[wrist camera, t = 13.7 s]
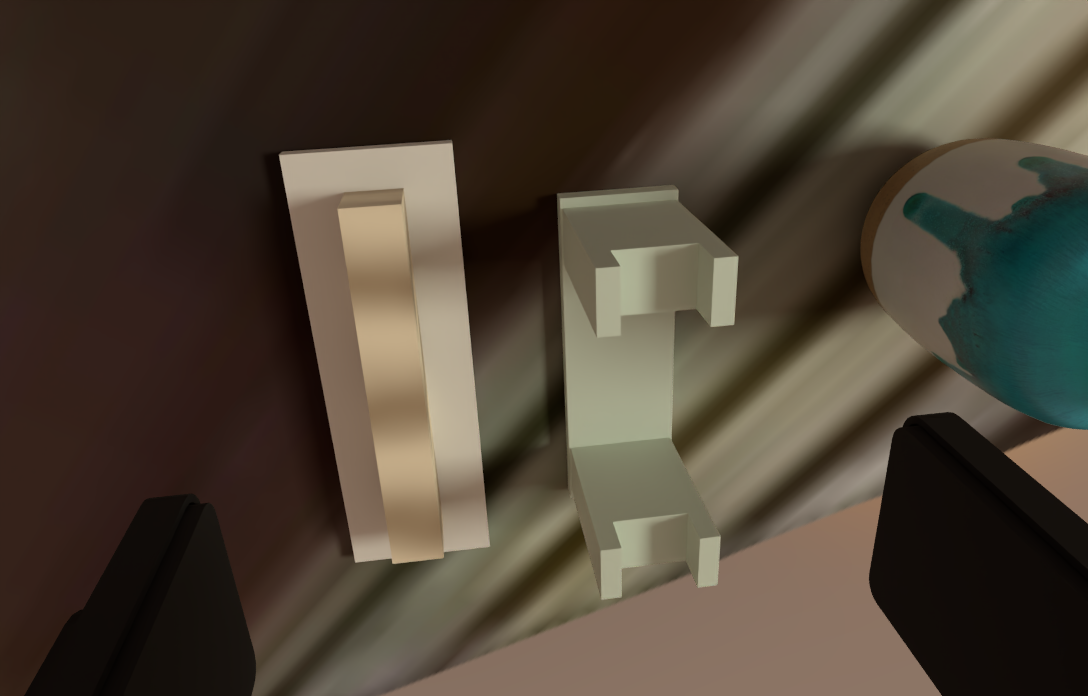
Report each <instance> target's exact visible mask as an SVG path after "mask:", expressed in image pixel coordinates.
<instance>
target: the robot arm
mask: <svg viewBox="0 0 1088 696" xmlns="http://www.w3.org/2000/svg"><path fill="white" fill-rule="evenodd" d="M869 583H870V588H871V592H872V595H873V597H874V599H875V601H876V603H877V604H878V606H879V607H880V609H881V610H882V611H883V613H884V614H885V616H886V617H887V618H888V620H889V621H890V623H891V624H892V626H893V627H894V628H895V630H896V631H897V633H898V634H899V635H900V637H901V638H902V639H903V641H904V642H905V643H906V645H907V647H908V648H909V649H910V651H911V652H912V654H913V655H914V657H915V658H916V659H917V661H918V662H919V664H920V665H921V666H922V668H923V669H924V671H925V672H926V674H927V675H928V676H929V678H930V679H931V680H932V682H933V683H934V685H935V686H936V688H937V689H938V690H939V692H940V693H941V695H942V696H1088V524H1087V523H1086V522H1085V521H1084V520H1083V519H1081V518H1080V517H1079V516H1078V515H1077V514H1075V513H1074V512H1073V511H1072V510H1071V509H1069V508H1068V507H1067V506H1066V505H1065V504H1063V503H1062V502H1061V501H1060V500H1059V499H1057V498H1056V497H1055V496H1054V495H1053V494H1052V493H1050V492H1049V491H1048V490H1047V489H1045V488H1044V487H1043V486H1042V485H1041V484H1039V483H1038V482H1037V481H1036V480H1035V479H1034V478H1032V477H1031V476H1030V475H1029V474H1028V473H1026V472H1025V471H1024V470H1023V469H1022V468H1020V467H1019V466H1018V465H1017V464H1016V463H1014V462H1013V461H1012V460H1011V459H1010V458H1008V457H1007V456H1006V455H1005V454H1004V453H1002V452H1001V451H1000V450H999V449H998V448H996V447H995V446H994V445H993V444H992V443H990V442H989V441H988V440H987V439H986V438H985V437H983V436H982V435H981V434H980V433H979V432H977V431H976V430H975V429H974V428H973V427H971V426H970V425H969V424H968V423H967V422H965V421H964V420H963V419H962V418H961V417H959V416H958V415H956V414H954V413H951V412H945V413H936V414H926V415H917V416H911V417H909V418H907V420H906V421H905V423H904V425H903V427H901V428H898V429H896V431H895V432H894V434H893V438H892V443H891V449H890V455H889V461H888V467H887V473H886V479H885V485H884V490H883V496H882V503H881V509H880V515H879V520H878V526H877V532H876V537H875V543H874V549H873V555H872V561H871V567H870V573H869ZM255 675H256V660H255V654H254V649H253V646H252V642H251V639H250V635H249V631H248V628H247V624H246V620H245V617H244V613H243V609H242V606H241V602H240V599H239V595H238V591H237V588H236V584H235V580H234V577H233V573H232V569H231V566H230V562H229V559H228V555H227V551H226V548H225V544H224V540H223V537H222V533H221V529H220V526H219V522H218V519H217V515H216V512H215V509H214V507H213V505H212V504H210V503H204V504H200V502H199V499H198V498H197V497H196V495H194V494H184V495H175V496H165V497H156V498H149V499H146V500H145V501H144V502H143V503H142V505H141V506H140V508H139V510H138V512H137V513H136V515H135V517H134V519H133V521H132V522H131V524H130V526H129V528H128V530H127V531H126V533H125V535H124V537H123V539H122V540H121V542H120V544H119V546H118V548H117V549H116V551H115V553H114V555H113V557H112V558H111V560H110V562H109V564H108V566H107V567H106V569H105V571H104V573H103V575H102V576H101V578H100V580H99V582H98V584H97V585H96V587H95V589H94V591H93V593H92V594H91V596H90V598H89V600H88V602H87V603H86V605H85V607H84V609H83V610H80V611H78V612H76V613H75V614H73V615H72V616H71V617H70V619H69V620H68V621H67V623H66V624H65V625H64V627H63V629H62V631H61V632H60V634H59V636H58V638H57V639H56V641H55V643H54V645H53V646H52V648H51V650H50V652H49V653H48V655H47V657H46V659H45V660H44V662H43V664H42V666H41V667H40V669H39V671H38V673H37V674H36V676H35V678H34V680H33V681H32V683H31V685H30V687H29V688H28V690H27V692H26V694H25V695H24V696H251V695H252V691H253V687H254V682H255Z"/></svg>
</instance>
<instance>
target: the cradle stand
mask: <svg viewBox="0 0 1088 696" xmlns="http://www.w3.org/2000/svg"><path fill="white" fill-rule="evenodd" d="M678 192H679V189H677V188H676V187H675V186H674V185H663V186H650V187H637V188H624V189H611V190H598V191H585V192H572V193H559V194H557V209H558V235H559V261H560V287H561V313H562V339H563V366H564V392H565V418H566V444H567V470H568V490H569V494H570V497H571V498H574V500H575V503H576V507H577V511H578V515H579V518H580V522H581V526H582V529H583V533H584V537H585V541H586V544H587V548H588V552H589V555H590V559H591V563H592V566H593V570H594V574H595V578H596V581H597V585H598V589H599V592H600V596H601V600H603V599H611V598H619V597H622V568H629V567H637V566H645V565H653V564H662V563H670V562H678V561H686V562H687V564H688V566H689V569H690V571H691V573H692V576H693V578H694V580H695V582H696V585H697V587H706V586H714V585H717V584H718V568H719V553H720V537H721V536H720V534H719V532H718V530H717V528H716V526H715V525H714V523H713V521H712V519H711V517H710V515H709V513H708V511H707V509H706V507H705V505H704V503H703V501H702V499H701V497H700V495H699V493H698V491H697V489H696V488H695V486H694V484H693V482H692V480H691V478H690V476H689V474H688V472H687V470H686V468H685V466H684V464H683V462H682V460H681V458H680V456H679V454H678V452H677V451H676V449H675V447H674V445H673V443H672V441H671V435H672V400H673V366H674V331H675V311H679V310H690V309H697V310H698V312H699V313H700V314H701V315H702V317H703V318H704V319H705V320H706V322H707V323H708V324H709V325H710V327H717V326H727V325H734V319H735V303H736V288H737V272H738V257H739V256H738V255H737V254H736V253H734V252H733V251H732V250H731V249H730V248H729V247H728V246H727V245H726V244H725V243H724V242H722V241H721V240H720V239H719V238H718V237H717V236H716V235H715V234H714V233H713V232H711V231H710V230H709V229H708V228H707V227H706V226H705V225H704V224H703V223H702V222H701V221H699V220H698V219H697V218H696V217H695V216H694V215H693V214H692V213H691V212H690V211H688V210H687V209H686V208H685V207H684V206H683V205H682V204H681V203H680V202H679V201H678Z"/></svg>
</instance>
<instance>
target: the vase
mask: <svg viewBox="0 0 1088 696" xmlns="http://www.w3.org/2000/svg"><path fill="white" fill-rule="evenodd" d="M860 251H861V263H862V268H863V272H864V276H865V279H866V281H867V284H868V286H869V288H870V290H871V292H872V294H873V295H874V297H875V298H876V300H877V301H878V303H879V304H880V306H881V307H882V308H883V309H884V310H885V311H886V313H887V314H888V315H889V316H890V317H891V318H892V319H893V320H894V321H895V322H896V323H897V324H898V325H899V326H900V327H901V328H902V329H903V330H904V331H905V332H906V333H908V334H909V335H910V336H911V337H912V338H913V339H914V340H915V341H916V342H918V343H919V344H920V345H921V346H922V347H924V348H925V349H926V350H927V351H929V352H930V353H931V354H932V355H934V356H935V357H936V358H938V359H939V360H940V361H942V362H943V363H944V364H946V365H947V366H949V367H950V368H951V369H953V370H954V371H956V372H957V373H958V374H960V375H961V376H963V377H964V378H965V379H967V380H968V381H970V382H971V383H973V384H974V385H976V386H977V387H979V388H980V389H982V390H983V391H985V392H986V393H988V394H989V395H991V396H993V397H994V398H996V399H998V400H999V401H1001V402H1003V403H1004V404H1006V405H1008V406H1010V407H1012V408H1014V409H1016V410H1018V411H1020V412H1022V413H1024V414H1026V415H1028V416H1031V417H1033V418H1035V419H1038V420H1040V421H1043V422H1045V423H1048V424H1052V425H1056V426H1061V427H1066V428H1072V429H1083V430H1088V156H1086V155H1083V154H1079V153H1075V152H1071V151H1068V150H1064V149H1060V148H1055V147H1050V146H1046V145H1040V144H1034V143H1029V142H1021V141H1014V140H1005V139H994V138H979V139H966V140H960V141H955V142H951V143H947V144H944V145H941V146H939V147H936V148H934V149H931V150H928V151H926V152H925V153H923V154H921V155H919V156H918V157H916V158H914V159H913V160H911V161H910V162H908V163H907V164H906V165H904V166H903V167H902V168H900V169H899V170H898V171H897V172H896V173H895V174H894V175H893V176H892V177H891V178H890V179H889V180H888V181H887V182H886V183H885V185H884V186H883V187H882V188H881V190H880V191H879V193H878V194H877V196H876V197H875V199H874V201H873V202H872V204H871V206H870V209H869V211H868V213H867V215H866V219H865V222H864V226H863V229H862V237H861V244H860Z"/></svg>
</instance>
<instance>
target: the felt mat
mask: <svg viewBox="0 0 1088 696" xmlns="http://www.w3.org/2000/svg"><path fill="white" fill-rule="evenodd" d="M279 158H280V163H281V169H282V174H283V179H284V185H285V190H286V195H287V201H288V206H289V211H290V217H291V222H292V227H293V233H294V238H295V243H296V249H297V254H298V259H299V265H300V270H301V275H302V281H303V286H304V291H305V297H306V302H307V307H308V313H309V318H310V323H311V329H312V334H313V339H314V345H315V350H316V355H317V361H318V366H319V371H320V377H321V382H322V387H323V393H324V398H325V403H326V409H327V414H328V419H329V425H330V430H331V435H332V441H333V446H334V451H335V457H336V462H337V467H338V473H339V478H340V483H341V489H342V494H343V499H344V505H345V510H346V515H347V521H348V526H349V531H350V536H351V542H352V547H353V552H354V558H355V562H364V561H372V560H380V559H389V558H392V555H391V549H390V542H389V536H388V530H387V523H386V517H385V510H384V504H383V498H382V491H381V485H380V478H379V472H378V466H377V459H376V453H375V446H374V440H373V433H372V427H371V421H370V414H369V408H368V401H367V395H366V389H365V382H364V376H363V369H362V363H361V357H360V350H359V344H358V337H357V331H356V325H355V318H354V312H353V305H352V299H351V293H350V286H349V280H348V273H347V267H346V261H345V254H344V248H343V241H342V235H341V229H340V222H339V216H338V206H339V204H340V202H341V199H342V197H343V194H344V192H356V191H371V190H385V189H399V188H404V196H405V204H406V213H407V221H408V230H409V238H410V247H411V255H412V264H413V272H414V281H415V289H416V298H417V306H418V315H419V323H420V332H421V340H422V349H423V357H424V365H425V374H426V382H427V391H428V399H429V408H430V416H431V425H432V433H433V442H434V450H435V459H436V467H437V476H438V484H439V493H440V501H441V509H442V518H443V539H444V552H448V551H457V550H465V549H474V548H482V547H490V543H489V532H488V521H487V511H486V500H485V489H484V479H483V468H482V457H481V446H480V436H479V425H478V414H477V404H476V393H475V382H474V372H473V361H472V350H471V339H470V329H469V318H468V307H467V297H466V286H465V275H464V265H463V254H462V243H461V232H460V222H459V211H458V200H457V190H456V179H455V168H454V158H453V147H452V140H445V141H430V142H416V143H402V144H387V145H373V146H358V147H344V148H329V149H315V150H300V151H286V152H281V153H280V155H279Z"/></svg>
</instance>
